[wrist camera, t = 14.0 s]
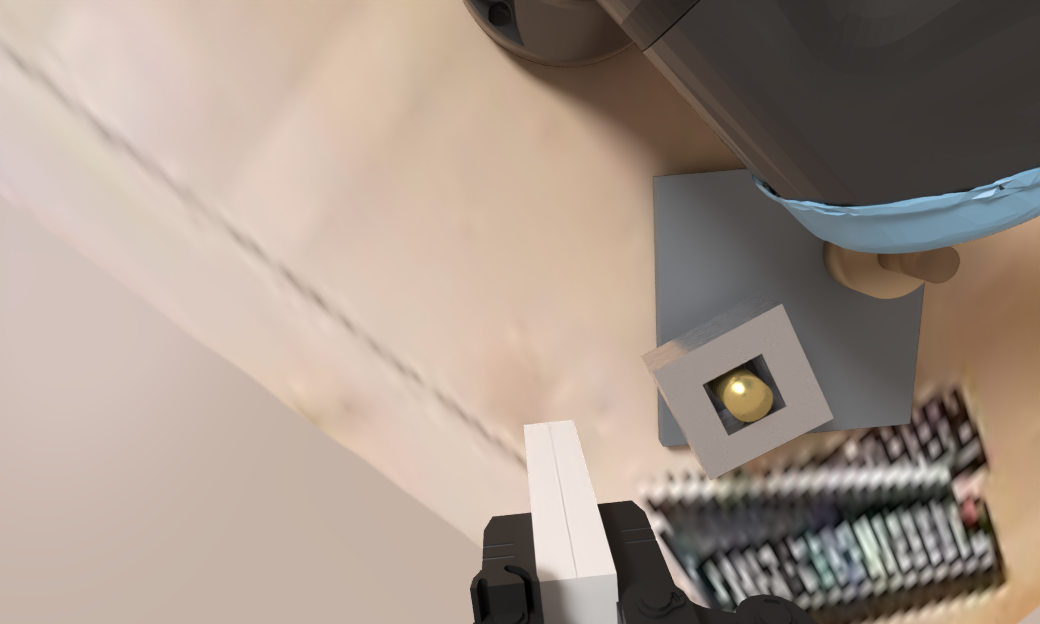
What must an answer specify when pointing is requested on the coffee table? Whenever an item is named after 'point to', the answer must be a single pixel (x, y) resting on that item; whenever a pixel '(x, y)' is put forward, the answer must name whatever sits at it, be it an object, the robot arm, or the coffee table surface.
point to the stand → (889, 269)
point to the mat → (778, 295)
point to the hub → (740, 393)
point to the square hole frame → (717, 350)
